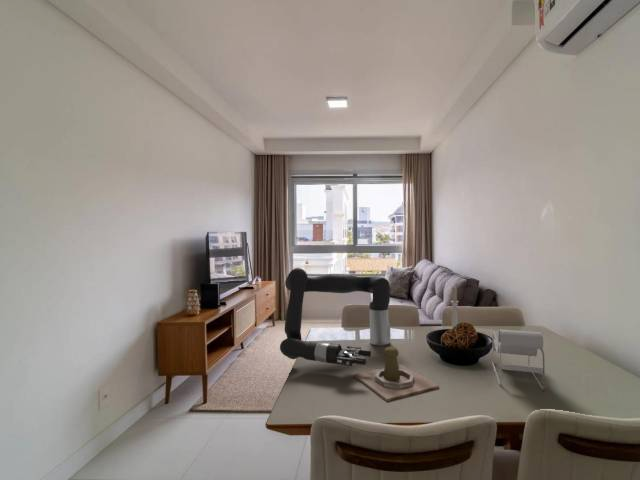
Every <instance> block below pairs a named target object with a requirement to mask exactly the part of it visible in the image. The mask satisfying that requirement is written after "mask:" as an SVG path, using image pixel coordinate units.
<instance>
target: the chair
mask: <svg viewBox="0 0 640 480" xmlns="http://www.w3.org/2000/svg"><path fill="white" fill-rule="evenodd" d="M491 340H492V343H491V346H492V352H491V363H492V366H493V370H494V373H495V376H496V379H497V382H498V384H499V385H500V386H501V385H502V370H506V371H507V370H508V371H515V372H516V371H517V372H526V373H531V374H532V376H533V377H534V378H535V380H536V382H537V383H538V385H539V387H540V388H541V390H542V391H544V390H545V385H546V384H545V383H546V382H545V379H546V378H545V353H544V349H543V347H544V336H543V334H542V332H539V331H527V330H512V329H511V330H510V329H498V337H497V335H496V333H495V331H492V339H491ZM538 350H540V351H541V353H542V367H535V366H530V358H531V356H532V357H537V356H538ZM494 352H496V353H497V354H499V375H498V372H497V370H496V367H495V363H494ZM502 354H507V355H517V356H528V357H527V366H523V365H515V364H514V365H513V364H505V363H504V364H503V363H502ZM535 373H536V374H542V384H541V383H540V381H539V379H538V378H537V376H536V374H535Z"/></svg>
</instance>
